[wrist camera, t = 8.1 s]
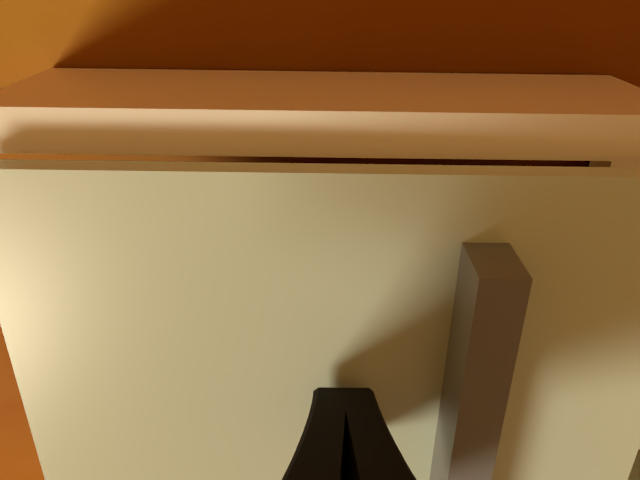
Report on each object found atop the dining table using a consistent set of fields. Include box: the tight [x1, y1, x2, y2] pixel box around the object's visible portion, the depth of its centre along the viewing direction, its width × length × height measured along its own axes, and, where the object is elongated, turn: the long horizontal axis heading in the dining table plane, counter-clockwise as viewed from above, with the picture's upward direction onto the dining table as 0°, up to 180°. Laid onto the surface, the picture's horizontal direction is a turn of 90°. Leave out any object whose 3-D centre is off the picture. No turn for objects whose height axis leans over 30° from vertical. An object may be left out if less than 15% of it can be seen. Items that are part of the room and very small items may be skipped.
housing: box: [0, 68, 640, 480], centre depth 17 cm, size 14×32×4 cm, turn 89°
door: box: [0, 159, 640, 480], centre depth 14 cm, size 12×16×2 cm
